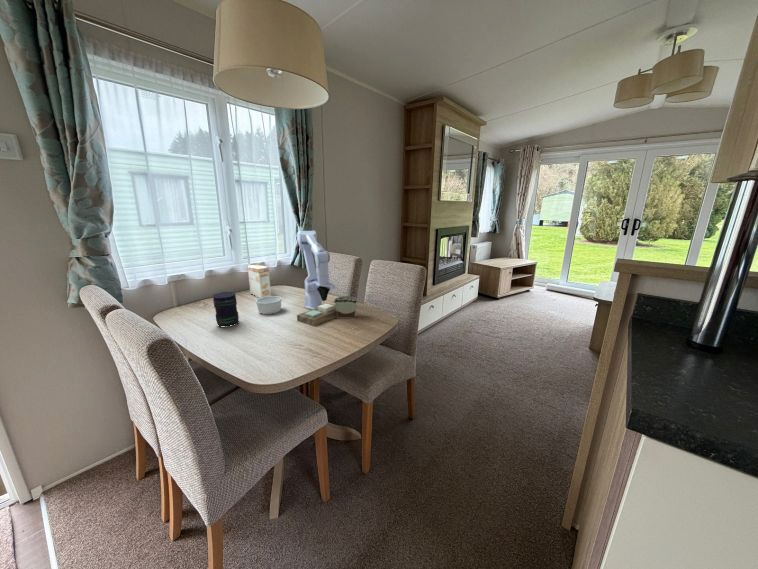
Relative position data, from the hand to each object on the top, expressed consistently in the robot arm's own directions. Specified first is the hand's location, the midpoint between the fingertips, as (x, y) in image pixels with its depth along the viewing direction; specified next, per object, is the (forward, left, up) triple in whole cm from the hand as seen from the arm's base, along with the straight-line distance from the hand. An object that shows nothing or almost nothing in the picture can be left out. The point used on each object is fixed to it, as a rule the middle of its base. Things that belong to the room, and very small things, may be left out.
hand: (324, 300), depth 153 cm
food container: (+10, +6, -9) cm, 15 cm away
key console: (0, -4, -8) cm, 9 cm away
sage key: (0, -8, -7) cm, 11 cm away
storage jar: (-31, -36, -9) cm, 48 cm away
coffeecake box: (-61, +2, -9) cm, 62 cm away
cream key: (0, +1, -6) cm, 6 cm away
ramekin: (-30, -13, -9) cm, 34 cm away
